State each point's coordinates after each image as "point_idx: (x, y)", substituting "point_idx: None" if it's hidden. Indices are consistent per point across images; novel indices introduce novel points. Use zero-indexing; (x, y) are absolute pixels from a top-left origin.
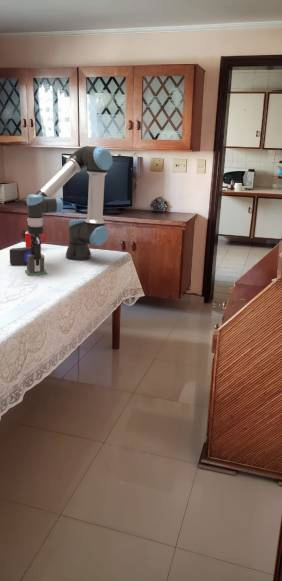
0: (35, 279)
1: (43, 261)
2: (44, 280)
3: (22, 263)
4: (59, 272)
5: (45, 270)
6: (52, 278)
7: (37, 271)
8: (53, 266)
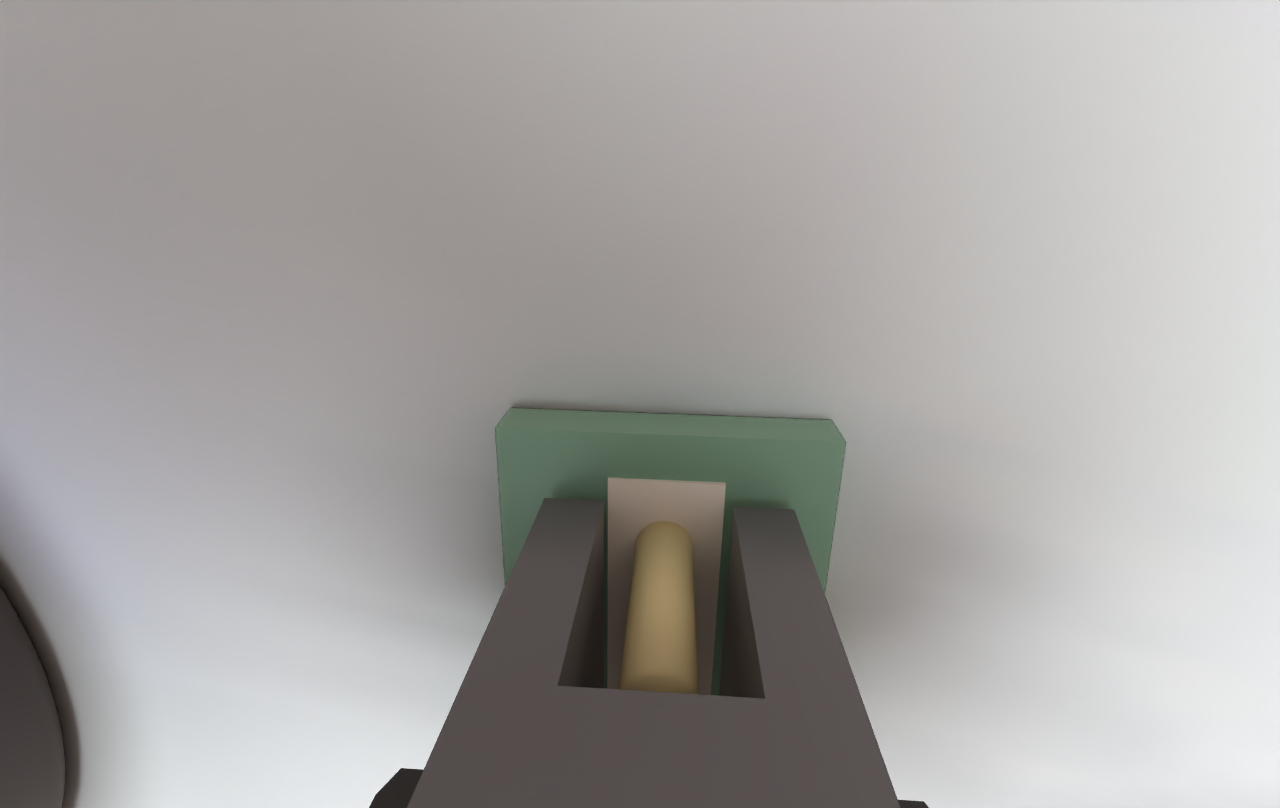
0: (1078, 720)
1: (862, 746)
2: (1248, 597)
3: (25, 725)
4: (770, 45)
5: (678, 440)
6: (1212, 400)
7: (716, 630)
8: (112, 35)
